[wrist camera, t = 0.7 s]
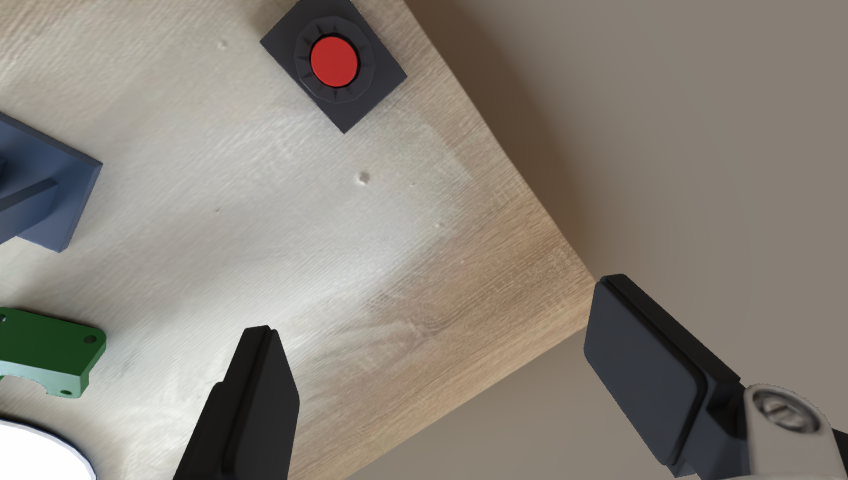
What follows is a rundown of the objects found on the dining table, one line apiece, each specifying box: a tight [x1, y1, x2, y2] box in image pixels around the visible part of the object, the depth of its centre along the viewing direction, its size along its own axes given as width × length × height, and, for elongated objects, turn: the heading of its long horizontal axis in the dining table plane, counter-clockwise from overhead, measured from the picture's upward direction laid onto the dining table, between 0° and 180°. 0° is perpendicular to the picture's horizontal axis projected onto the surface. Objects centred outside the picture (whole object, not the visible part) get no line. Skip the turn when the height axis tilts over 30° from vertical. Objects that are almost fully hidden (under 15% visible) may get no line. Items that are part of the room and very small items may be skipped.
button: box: [311, 37, 357, 86], centre depth 31 cm, size 4×4×2 cm
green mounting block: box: [0, 307, 106, 398], centre depth 42 cm, size 12×6×9 cm, turn 55°
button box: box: [259, 0, 407, 134], centre depth 33 cm, size 10×8×4 cm
